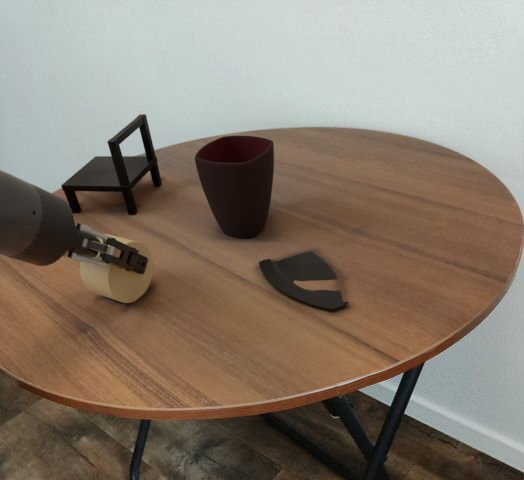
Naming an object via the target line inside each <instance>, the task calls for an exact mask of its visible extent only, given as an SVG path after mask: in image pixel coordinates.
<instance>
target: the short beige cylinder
mask: <svg viewBox="0 0 524 480" xmlns="http://www.w3.org/2000/svg"><path fill="white" fill-rule="evenodd" d="M104 234H105V235H107V236H110V237H113V238H115V239H116V240H117V241H120V242H122V243H124V244H126V245H128V246H130V247H133V248H136V250H138V251H139V253H138V254H140V255H143V256H145V257H147V258H148V263H147V266H146V270H145V273H144V274H139V273H136V272H133V271H130V272H129V271H126V270H125V269H118V267H116V266H113V265H110V264H109V265H108V266H107V267H103V266H100V265H96V264H93V263H90V262H87V261H79V275H80V279H81V281H82V283H83V285H84V287H85V288H86V289H87V290H88V291H89V292H91V293H93V294H95V295H99V296H100V299H103V300H105V301H109V302H110V303H111V302H112V303H114V304H118V305H121V306H124V307H127V308H128V307H130V306H131V305H132V304H134V303H135V302H137V300H139V298H141V297H142V296H143V295H144V294H146V293H147V292H149V290H151V287H150V284H151V281H152V279H153V273H154V261H153V257H152V253H151V251H150V250H149V248H148V247H147V246H146V245H145V244H144V243H142V242H140V241H137V240H133V239H129V238H125V237H120V236H117V235H114V234H113V235H112V234H109V233H104ZM98 239H99V240H100V242H101V243H103V241H102V239H100V238H98ZM85 256H86V255H85ZM99 256H100V252H98V255H97V256H96V257H91V258H94V259H98V258H99ZM88 257H89V256H88Z"/></svg>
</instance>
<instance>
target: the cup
mask: <svg viewBox="0 0 524 480" xmlns="http://www.w3.org/2000/svg"><path fill="white" fill-rule="evenodd" d="M194 163H195V166H196V171H197V172H196V173H197V175H198V178H199V182H200V185H201V187H202V190H203V193H204V196H205V199H206V200H207V204H208V206H209V208H210V211H211V213H212V215H213V217H214V219H215V221H216V223H217V224H218V227H219V228H220V230H221V232H222V233H223V234H225V235H226V236H229V237H232V238H233V237H234V238H238V239H252V238H254V237H256V236H257V235H258V234H260V233H261V232H262V231H263V230H264V229H265V227H266V225H267V221H268V217H269V213H270V208H271V202H272V201H271V200H272V192H273V191H272V190H273V184H274V183H273V182H274V173H275V171H274V170H275V145H274V141H273V140H272V139H269V138H265V137H262V136H253V135H224V136H221V137H218V138H216V139H214V140H212V141H210V142H208V143H207V144H205V145H203V146H201V148H199V150H198V151H197V152H196V153H195V155H194Z"/></svg>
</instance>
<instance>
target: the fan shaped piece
mask: <svg viewBox="0 0 524 480" xmlns="http://www.w3.org/2000/svg"><path fill="white" fill-rule="evenodd" d="M258 265H259V268H260V270H261V273H262V275H263V276H264V278H265V279H266V281H267V282H268V283H269V284H270V286H272V287H273V288H274V289H275V290H276V291H278V292H279V293H280V294H282V295H284V296H285V297H287V298H288V299H291V300H293V301H294V302H296V303H299V304H302V305H304V306H307V307H310V308H314V309H317V310H320V311H326V312H328V313H329V312H330V313H337V312H339V311H342V310H345V309H346V307H347V305H348V304H350V301H343V297H342V292H341V291H340V290H331V289H317V290H315V289H314V290H313V289H308V288H303V287H301V286H299V285H297V284H295V281H298V282H313V281H315V282H316V281H336V280H338V276H337V274H336V272H334V270H333V269H332V268H331V267H330V266H329V264H328V262H326V261H325V260H324V259H322V258H321V257H319V255H317V254H316V253H315V252H313V251H305V252H302V253H297V254H294V255H292V256H289V257H284V258H282V259H280V260H273V259H271V258H266V259H262V260H260V261H259V262H258Z"/></svg>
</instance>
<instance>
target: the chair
mask: <svg viewBox="0 0 524 480" xmlns="http://www.w3.org/2000/svg"><path fill="white" fill-rule="evenodd" d="M138 129H139V133H140V136H141V141H142V145H143V148H144V153H145V156H144V155H143V156H141V155H138V156H137V155H136V156H135V155H134V156H133V155H124V156H123V152H122V150H121V149H122V148H121V147H120V145H121V144H122V143H123V142H124V141H125V140H126V139H128V138H129V137H130V136H131V135H132V134H133V133H134V132H135V131H137V130H138ZM107 145H108V149H109V152H110V156H106V155H105V156H104V155H103V156H101V155H100V156H99V155H96V156H94V157H93V158H92V159H90V160H89V161H88V162H87V163H85V165H84V166H82V167H81V168H80V169H78V171H76V172H75V173H74V174H73V175H71V177H69V178H68V179H67V180H66V181H64V182H63V183H62V184H61V185H60V186H61V189H62V191H63V193H64V195H65V198H66V201H67V203H68V205H69V206H70V208H71V210H72V213H73V214H79V213H80V212H82V207H81V203H80V202H79V199H78V196H77V193H76V192H92V193H93V192H96V193H97V192H99V193H100V192H101V193H122V198H123V200H124V204H125V207H126V210H127V211H126V212H127V214H128V215H129V216H136V214H137V213H138V212H139V211H138V207H137V203H136V200H135V196H134V192H133V190H132V189H134V187H135V186H136V185H137V184H138V183H139V182H140V181H141V180H142V179H143V178H144V177H145V176H146V175H147V174H148V173H150V177H151V182H152V185H153V187H156V188H159V187H161V186H162V185H163V181H162V177H161V173H160V168H159V165H158V164H159V163H158V158H157V156H156V152H155V148H154V143H153V139H152V135H151V130H150V126H149V123H148V118H147V114H145V113H144V114H140V113H139V114H138V115H137V116H136V118H134V119H133V120H132V121H131V122H129V123H128V124H127V125H126V126H124V127H123V128H122V129H121V130H119V132H117V133H116V134H115V135H114V136H113V137H111V138H110V139H108V140H107Z"/></svg>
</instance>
